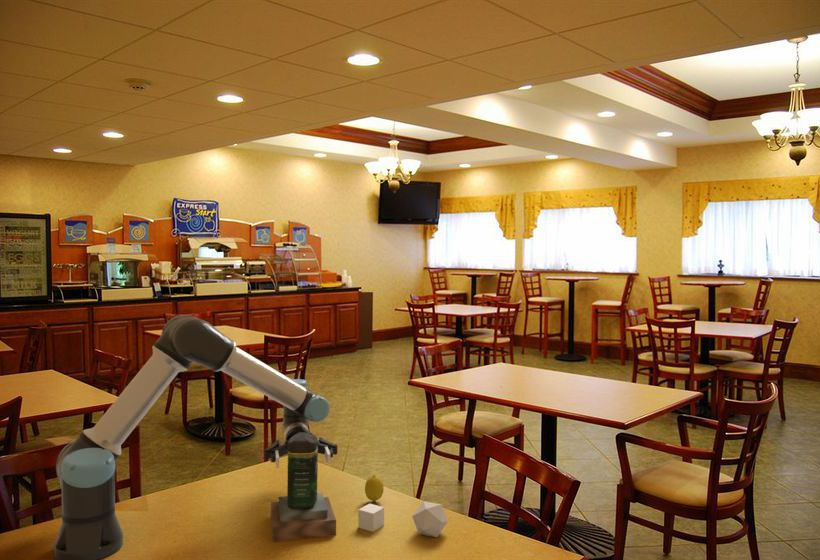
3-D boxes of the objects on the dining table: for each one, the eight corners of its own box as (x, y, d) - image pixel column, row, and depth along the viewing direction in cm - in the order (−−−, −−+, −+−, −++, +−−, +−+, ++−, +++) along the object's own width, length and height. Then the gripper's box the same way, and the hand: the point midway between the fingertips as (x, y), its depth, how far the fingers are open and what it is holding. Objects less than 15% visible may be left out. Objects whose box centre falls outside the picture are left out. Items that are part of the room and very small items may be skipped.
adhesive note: (373, 532, 163) (373, 513, 163) (358, 527, 166) (358, 509, 166) (384, 525, 168) (384, 507, 167) (369, 521, 170) (369, 503, 170)
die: (451, 533, 165) (438, 497, 169) (451, 529, 157) (436, 492, 161) (423, 545, 164) (410, 509, 168) (421, 542, 156) (407, 504, 161)
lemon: (362, 504, 181) (362, 477, 181) (368, 497, 187) (368, 471, 186) (379, 506, 180) (379, 479, 180) (386, 499, 185) (386, 473, 185)
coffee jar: (315, 510, 162) (315, 440, 162) (285, 510, 162) (285, 440, 161) (319, 496, 172) (319, 429, 171) (290, 496, 172) (290, 430, 171)
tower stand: (273, 541, 157) (273, 518, 157) (270, 516, 173) (270, 494, 172) (336, 534, 161) (336, 512, 161) (328, 510, 177) (328, 489, 177)
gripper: (339, 447, 190) (349, 471, 169) (255, 453, 183) (255, 478, 163) (339, 423, 189) (349, 443, 169) (255, 428, 183) (255, 450, 163)
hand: (303, 461), depth 166 cm, fingers open, 13 cm apart
